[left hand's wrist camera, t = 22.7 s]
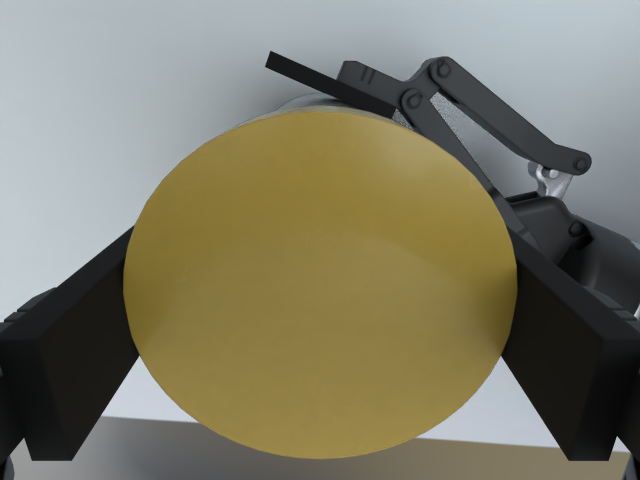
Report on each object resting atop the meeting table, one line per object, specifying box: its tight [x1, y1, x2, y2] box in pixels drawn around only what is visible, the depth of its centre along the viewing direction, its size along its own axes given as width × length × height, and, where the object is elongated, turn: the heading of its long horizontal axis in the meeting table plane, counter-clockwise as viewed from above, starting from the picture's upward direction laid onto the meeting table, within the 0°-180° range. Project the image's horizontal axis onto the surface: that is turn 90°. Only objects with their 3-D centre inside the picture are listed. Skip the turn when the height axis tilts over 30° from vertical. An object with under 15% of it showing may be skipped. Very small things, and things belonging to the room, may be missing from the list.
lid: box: [123, 105, 518, 459], centre depth 11 cm, size 10×10×2 cm
